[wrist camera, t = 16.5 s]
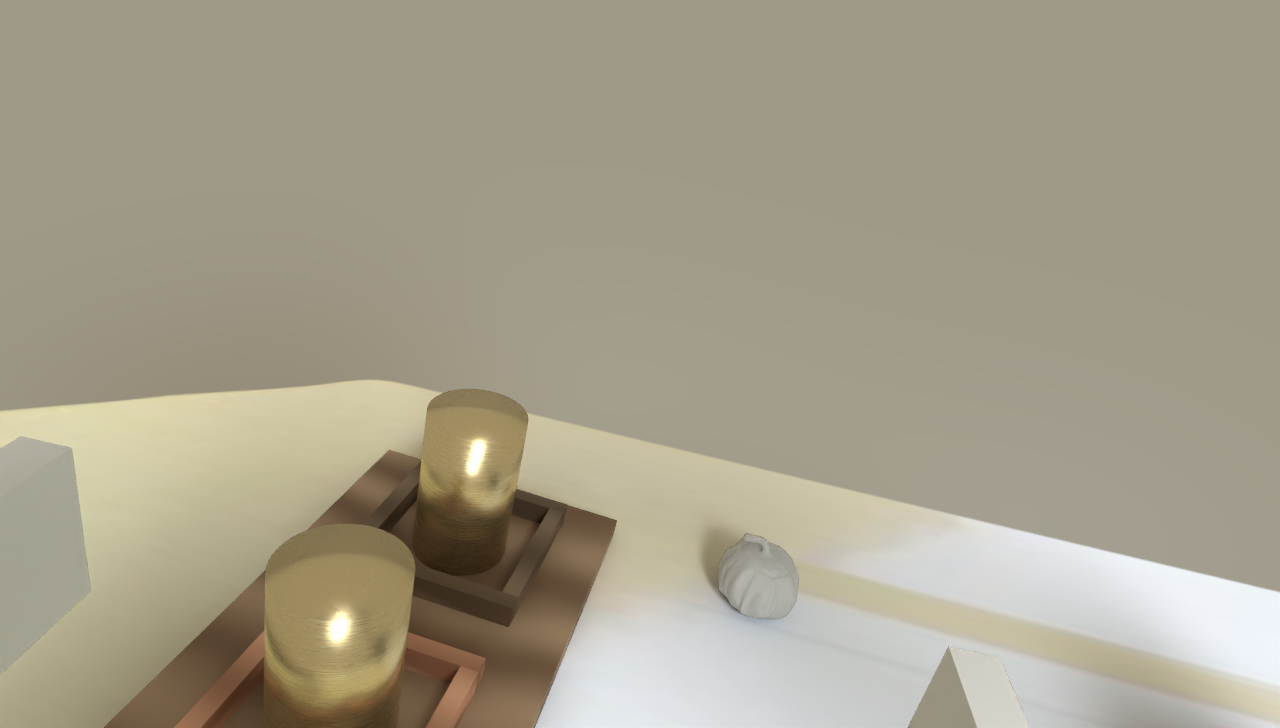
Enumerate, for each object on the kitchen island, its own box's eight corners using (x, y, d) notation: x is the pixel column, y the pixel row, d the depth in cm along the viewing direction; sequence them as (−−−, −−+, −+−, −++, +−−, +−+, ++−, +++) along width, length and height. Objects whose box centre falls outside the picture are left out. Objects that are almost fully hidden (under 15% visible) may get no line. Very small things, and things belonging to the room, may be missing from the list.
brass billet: (392, 671, 41) (408, 520, 37) (402, 773, 36) (422, 612, 32) (266, 686, 39) (268, 527, 35) (259, 797, 34) (260, 627, 30)
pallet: (388, 463, 59) (390, 433, 58) (613, 533, 58) (621, 503, 56) (30, 821, 32) (21, 778, 31) (433, 975, 31) (440, 935, 29)
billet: (496, 513, 55) (517, 389, 51) (513, 572, 50) (538, 440, 46) (408, 517, 53) (422, 388, 48) (417, 579, 48) (433, 441, 43)
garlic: (692, 584, 55) (711, 525, 52) (748, 566, 58) (768, 509, 56) (748, 645, 50) (771, 583, 48) (805, 622, 54) (829, 563, 51)
